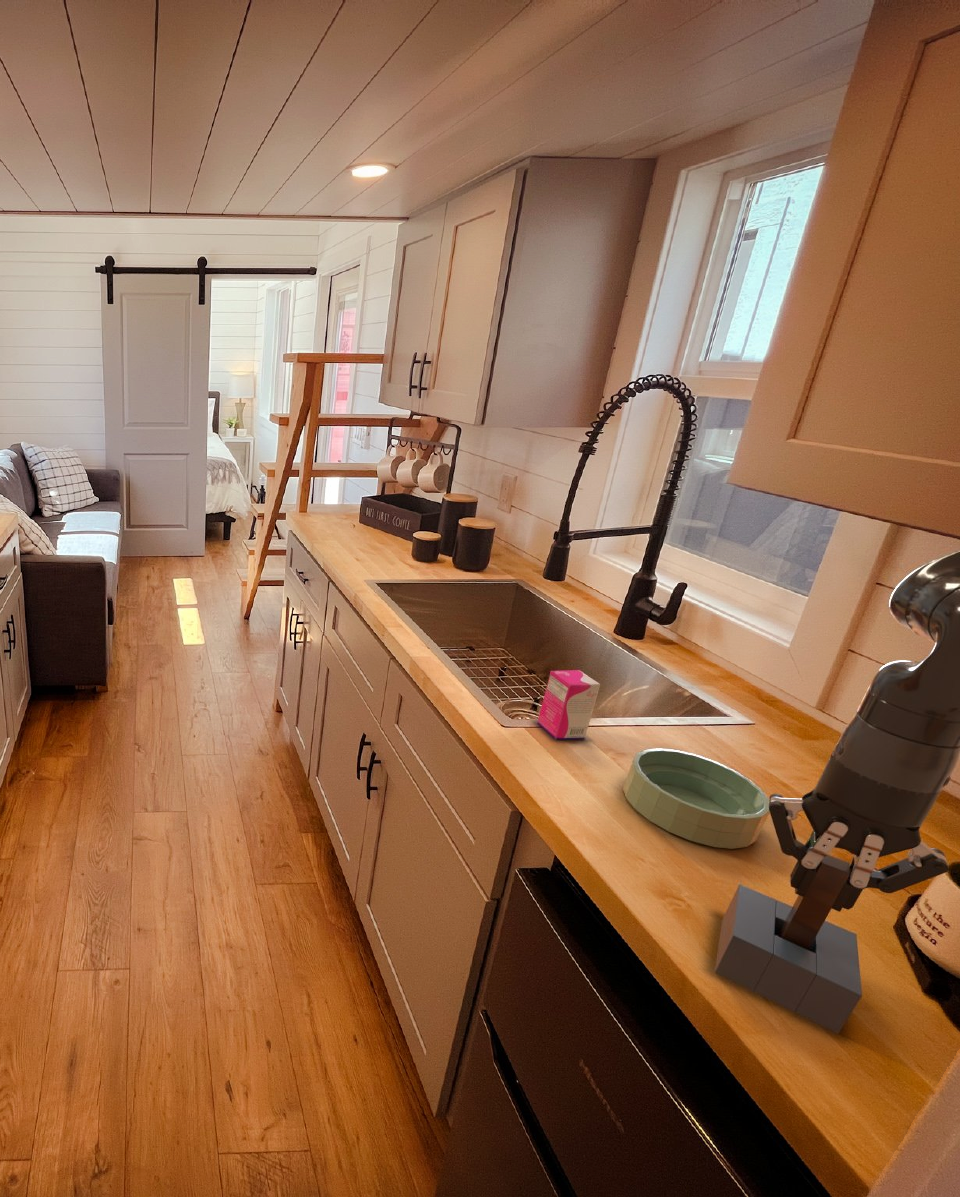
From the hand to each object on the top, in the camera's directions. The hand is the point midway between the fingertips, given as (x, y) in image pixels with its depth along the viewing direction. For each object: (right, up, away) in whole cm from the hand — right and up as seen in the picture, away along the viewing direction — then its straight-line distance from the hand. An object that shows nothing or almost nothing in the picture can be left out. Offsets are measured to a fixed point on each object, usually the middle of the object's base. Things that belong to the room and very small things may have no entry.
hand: (816, 897), depth 70 cm
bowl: (+10, -1, +30) cm, 31 cm away
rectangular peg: (0, -10, +4) cm, 11 cm away
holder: (0, -11, +4) cm, 12 cm away
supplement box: (+3, +8, +50) cm, 50 cm away
